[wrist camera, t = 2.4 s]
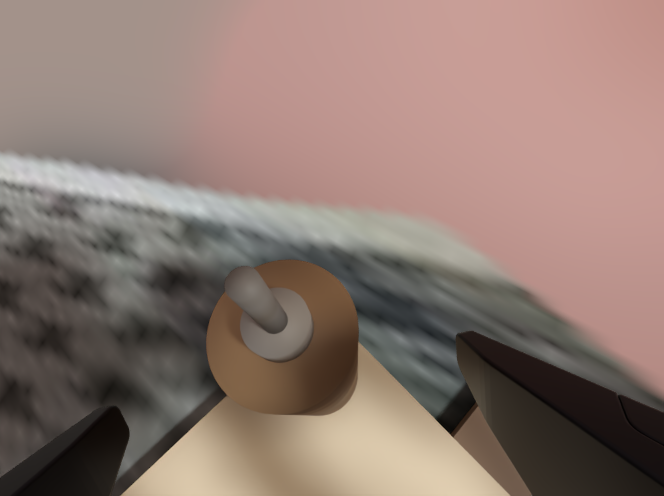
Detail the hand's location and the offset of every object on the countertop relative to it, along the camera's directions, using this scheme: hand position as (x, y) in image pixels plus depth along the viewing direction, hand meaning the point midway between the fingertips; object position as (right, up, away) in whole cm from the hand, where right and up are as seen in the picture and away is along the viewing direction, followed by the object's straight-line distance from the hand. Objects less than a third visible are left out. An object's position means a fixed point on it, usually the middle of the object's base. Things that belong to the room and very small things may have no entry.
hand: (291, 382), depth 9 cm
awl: (0, -3, +8) cm, 8 cm away
